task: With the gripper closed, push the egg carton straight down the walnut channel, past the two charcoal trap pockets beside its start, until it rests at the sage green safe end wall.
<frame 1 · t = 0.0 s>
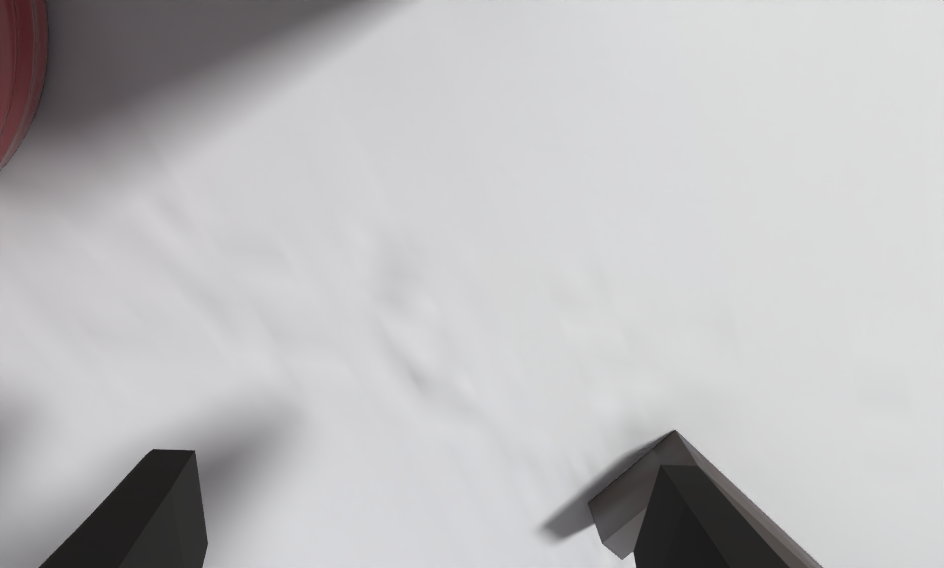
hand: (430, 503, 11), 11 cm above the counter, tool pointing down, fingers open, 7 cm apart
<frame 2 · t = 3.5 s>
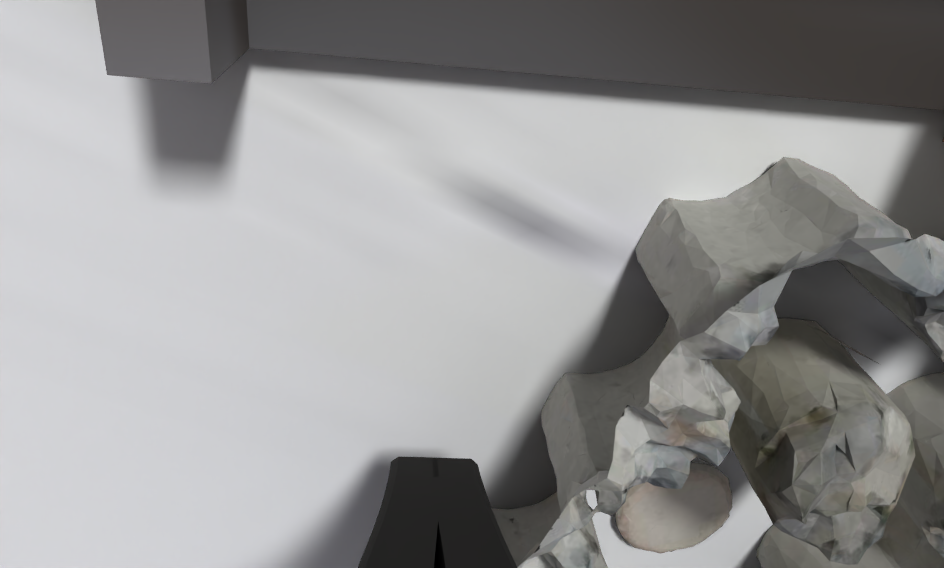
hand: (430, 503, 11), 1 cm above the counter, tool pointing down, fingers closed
trap box: (876, 457, 13), on the counter
egg carton: (703, 428, 13), on the counter
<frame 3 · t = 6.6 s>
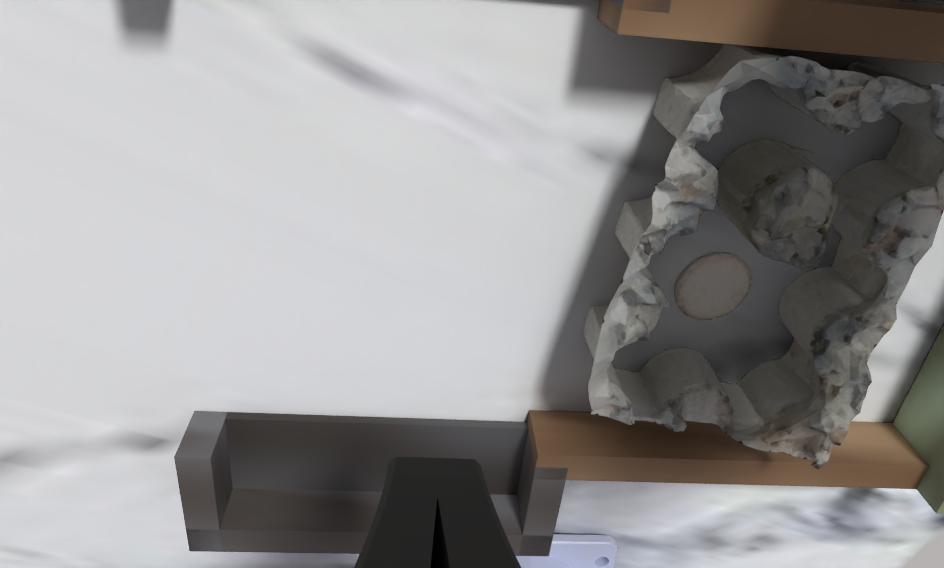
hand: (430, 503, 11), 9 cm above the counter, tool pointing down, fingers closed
trap box: (610, 247, 20), on the counter
egg carton: (721, 228, 20), on the counter
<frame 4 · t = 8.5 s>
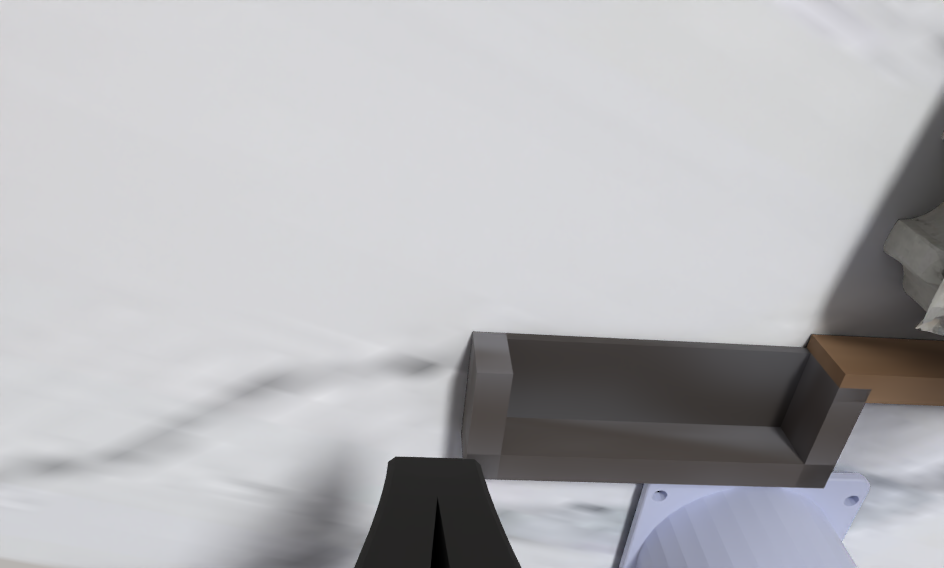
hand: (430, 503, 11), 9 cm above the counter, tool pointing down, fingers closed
trap box: (940, 152, 19), on the counter
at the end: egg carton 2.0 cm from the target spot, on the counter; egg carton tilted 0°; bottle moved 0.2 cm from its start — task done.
